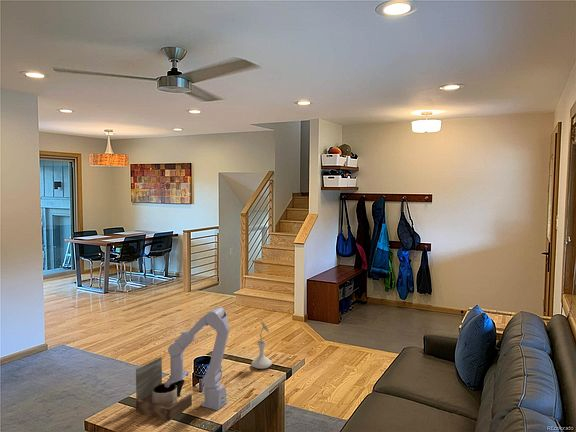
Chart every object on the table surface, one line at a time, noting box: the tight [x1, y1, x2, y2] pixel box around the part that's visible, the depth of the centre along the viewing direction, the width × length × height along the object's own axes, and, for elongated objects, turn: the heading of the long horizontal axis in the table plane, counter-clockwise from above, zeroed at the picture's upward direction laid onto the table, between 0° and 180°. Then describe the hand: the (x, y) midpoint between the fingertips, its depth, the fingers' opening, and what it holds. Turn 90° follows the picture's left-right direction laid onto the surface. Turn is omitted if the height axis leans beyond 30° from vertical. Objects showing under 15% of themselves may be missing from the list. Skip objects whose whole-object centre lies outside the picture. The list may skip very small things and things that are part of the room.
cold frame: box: [135, 357, 193, 422], centre depth 188 cm, size 18×15×19 cm
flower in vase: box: [250, 320, 273, 370], centre depth 235 cm, size 13×11×25 cm
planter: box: [152, 382, 178, 408], centre depth 188 cm, size 11×11×10 cm
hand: (177, 396), depth 196 cm, fingers closed
